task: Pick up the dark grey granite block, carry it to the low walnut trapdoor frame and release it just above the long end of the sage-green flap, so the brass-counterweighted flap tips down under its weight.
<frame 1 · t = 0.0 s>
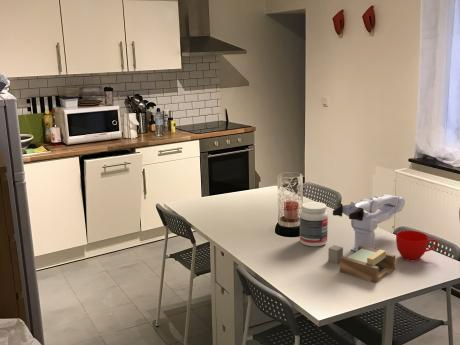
hand: (341, 214, 212), 22 cm above the table, tool horizontal, fingers open, 7 cm apart
trapdoor frame: (367, 270, 210), on the table
trapdoor: (366, 255, 209), point 6 cm above the table, hinge at 0.0°
granite block: (335, 260, 220), on the table
ceramic cup: (415, 258, 221), on the table
supplement tub: (313, 242, 241), on the table
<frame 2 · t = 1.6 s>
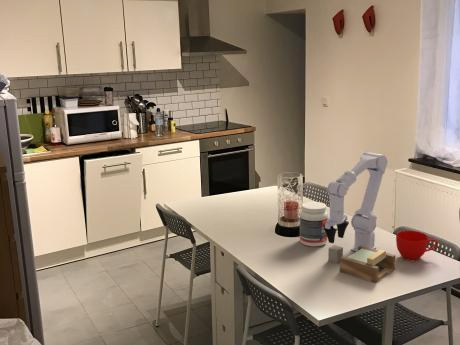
hand: (335, 240, 218), 9 cm above the table, tool pointing down, fingers open, 7 cm apart
nothing on the table moved.
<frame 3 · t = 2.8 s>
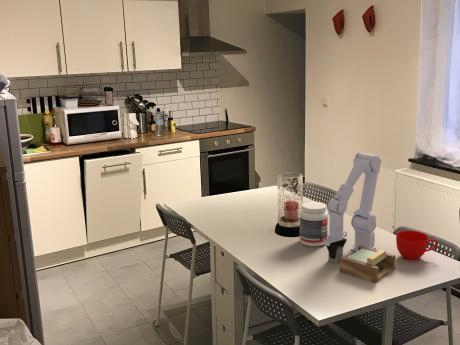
hand: (335, 256, 220), 2 cm above the table, tool pointing down, fingers closed on granite block, 4 cm apart
granite block: (335, 260, 220), on the table, touching gripper
everything else where it was.
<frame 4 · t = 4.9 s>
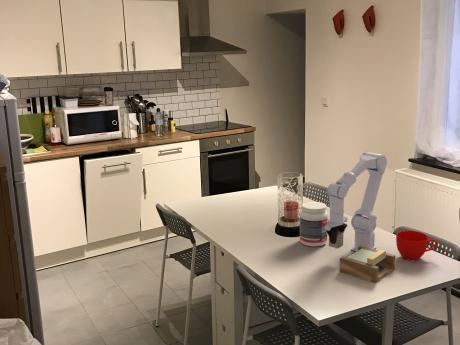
hand: (335, 241, 218), 9 cm above the table, tool pointing down, fingers closed on granite block, 4 cm apart
granite block: (335, 245, 219), point 7 cm above the table, touching gripper
everything else where it was.
when the fingers open (9 cm above the table, at t = 6.8 s): granite block drops 1 cm, resting on trapdoor.
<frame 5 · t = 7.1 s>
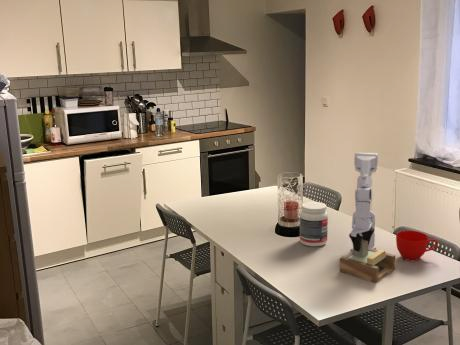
hand: (361, 248, 210), 9 cm above the table, tool pointing down, fingers open, 7 cm apart
trapdoor: (366, 255, 209), point 6 cm above the table, hinge at -2.9°, touching granite block
granite block: (360, 255, 211), point 6 cm above the table, touching trapdoor
everything else where it was.
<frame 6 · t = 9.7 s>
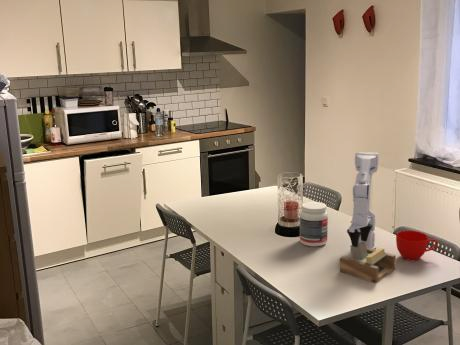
hand: (359, 243, 211), 10 cm above the table, tool pointing down, fingers open, 7 cm apart
trapdoor: (366, 256, 209), point 6 cm above the table, hinge at -16.4°, touching granite block
granite block: (360, 257, 211), point 5 cm above the table, tilted 16°, touching trapdoor
everything else where it was.
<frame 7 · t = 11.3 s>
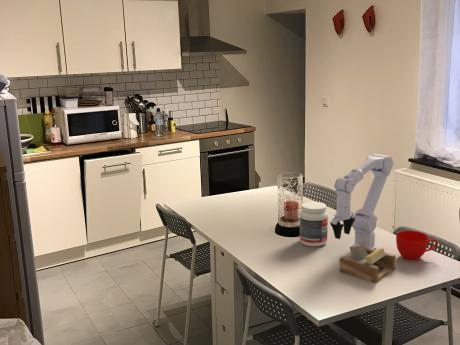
hand: (342, 236, 220), 10 cm above the table, tool pointing down, fingers open, 7 cm apart
trapdoor: (366, 257, 209), point 6 cm above the table, hinge at -21.5°, touching granite block
granite block: (360, 259, 211), point 4 cm above the table, tilted 22°, touching trapdoor
everything else where it was.
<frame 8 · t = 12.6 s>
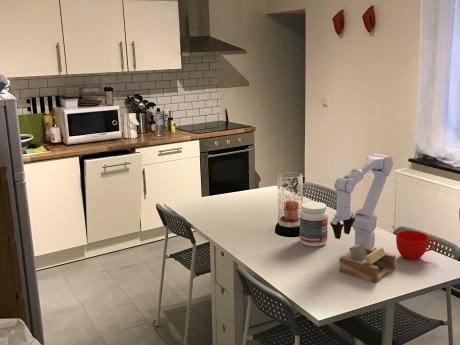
hand: (342, 236, 220), 10 cm above the table, tool pointing down, fingers open, 7 cm apart
trapdoor: (366, 257, 210), point 5 cm above the table, hinge at -24.3°, touching granite block
everything else where it was.
at the end: granite block point 3.8 cm above the table; granite block inside the target area (1.0 cm from its centre), point 3.8 cm above the table; the gripper is holding nothing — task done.
